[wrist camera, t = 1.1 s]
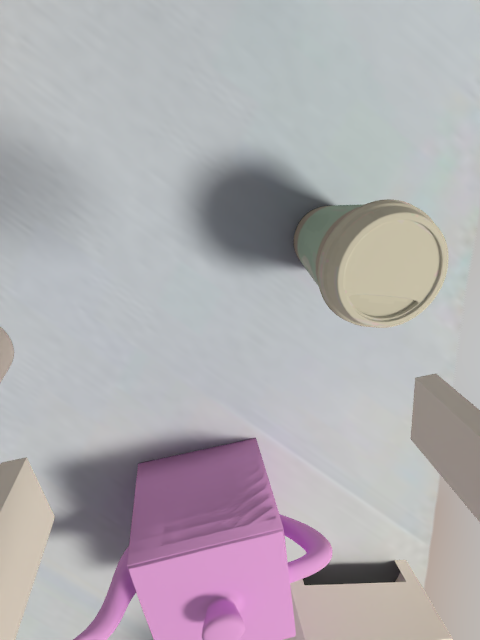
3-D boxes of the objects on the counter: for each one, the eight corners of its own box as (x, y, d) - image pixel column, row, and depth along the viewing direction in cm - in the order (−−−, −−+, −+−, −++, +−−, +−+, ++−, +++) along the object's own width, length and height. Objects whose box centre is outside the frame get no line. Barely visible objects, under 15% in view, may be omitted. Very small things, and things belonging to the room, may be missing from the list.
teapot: (69, 477, 40) (22, 624, 27) (298, 428, 43) (352, 540, 30) (107, 571, 46) (83, 727, 33) (306, 522, 49) (354, 650, 36)
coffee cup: (259, 246, 34) (300, 285, 23) (324, 168, 32) (402, 170, 22) (323, 301, 37) (387, 358, 26) (386, 231, 36) (481, 262, 25)
